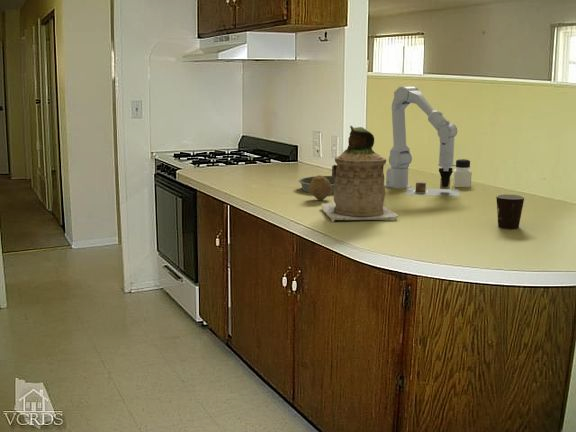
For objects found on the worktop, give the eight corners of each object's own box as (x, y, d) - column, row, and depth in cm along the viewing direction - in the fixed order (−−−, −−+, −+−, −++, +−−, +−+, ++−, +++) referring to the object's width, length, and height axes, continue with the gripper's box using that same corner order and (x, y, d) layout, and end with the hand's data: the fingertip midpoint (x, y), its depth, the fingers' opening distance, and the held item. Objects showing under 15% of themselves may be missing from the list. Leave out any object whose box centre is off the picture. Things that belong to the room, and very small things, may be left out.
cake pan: (308, 184, 299) (308, 174, 298) (360, 186, 291) (360, 176, 290) (291, 193, 276) (290, 182, 275) (346, 196, 268) (346, 185, 267)
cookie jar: (400, 221, 221) (402, 127, 214) (329, 223, 219) (329, 128, 212) (384, 206, 245) (386, 122, 238) (319, 208, 243) (319, 123, 236)
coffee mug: (499, 222, 216) (500, 193, 214) (525, 225, 212) (527, 195, 209) (488, 229, 207) (489, 199, 205) (515, 233, 202) (517, 201, 200)
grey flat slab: (405, 195, 267) (405, 194, 266) (407, 189, 282) (407, 187, 282) (460, 197, 262) (460, 196, 262) (459, 190, 277) (459, 189, 277)
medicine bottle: (470, 187, 283) (472, 160, 281) (454, 187, 285) (455, 160, 282) (469, 185, 290) (470, 158, 287) (453, 184, 291) (454, 158, 289)
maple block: (440, 189, 269) (440, 179, 268) (440, 187, 273) (440, 178, 272) (449, 189, 268) (450, 179, 267) (449, 187, 272) (450, 178, 271)
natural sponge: (304, 199, 260) (303, 175, 258) (320, 196, 266) (320, 173, 264) (318, 202, 253) (318, 177, 251) (335, 200, 259) (335, 175, 256)
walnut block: (415, 192, 271) (415, 183, 270) (415, 190, 275) (416, 181, 274) (425, 192, 270) (425, 183, 270) (425, 191, 274) (425, 181, 273)
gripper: (456, 155, 259) (455, 189, 262) (456, 151, 273) (454, 183, 276) (438, 155, 261) (437, 188, 264) (439, 151, 275) (437, 182, 278)
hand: (445, 185), depth 270 cm, fingers closed on maple block, 4 cm apart
